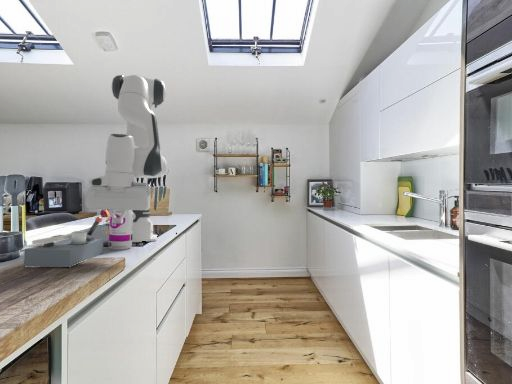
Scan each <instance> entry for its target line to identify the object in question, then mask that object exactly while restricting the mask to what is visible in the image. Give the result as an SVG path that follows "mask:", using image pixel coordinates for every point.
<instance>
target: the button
mask: <svg viewBox="0 0 512 384" xmlns="http://www.w3.org/2000/svg"><path fill="white" fill-rule="evenodd" d="M86 237H87V231H85V230H76V231H73V232H71V237H70V238H71V244H73V245H81V244H86Z"/></svg>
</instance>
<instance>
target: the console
mask: <svg viewBox="0 0 512 384" xmlns="http://www.w3.org/2000/svg"><path fill="white" fill-rule="evenodd" d="M71 238H72V237H65V238H64V239H60V240H55V241H49V242H45V243H43V244H42V243H41V244H38V245H33V246H30V247H28V248H24V254H23V256H24V259H23V267H24V266H40V267H70V266H72V265H74V264H77V263H79V262H81V261H84V260H86V259H89V260H91V259H94V258H95V257H98V256H100V255H103V252H104V238H95V237H92V236H89V237H88V236H86V244H81V245H73V244H71ZM90 258H91V259H90ZM84 262H85V261H84Z"/></svg>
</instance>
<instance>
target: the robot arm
mask: <svg viewBox="0 0 512 384" xmlns="http://www.w3.org/2000/svg"><path fill="white" fill-rule="evenodd" d="M110 87H111V92H112V95H113V97H114V98H115V99H116V100H118V101H117V110H118V114H119V115H120V117H122V119H124V120H125V121H126V134H125V133H112V134H109V135H108V138H107V142H106V149H105V150H106V151H105V165H106V166H105V170H104V175H102V176H98V177H94V178H91V179H89V180H88V185H89V187H87V189H86V192H85V197H84V206H85V207H86V208H87V209H89V210H90V209H92V210H94V209H95V210H108V214H109V216H110V215H111V217H112V223H123V218H124V216H125V215H126V213H127V210H132V212H133V232H132V243H143V242H142V241H146V242H155V241H157V240H156V239H157V238H158V237H157V236H158V234H154V233H155V230H154V224H153V222H152V220H151V218H150V217H151V209H150V208H151V197H150V196H151V193H152V188H151V187H152V186H150V184H148V183H146V182H138V181H137V179H140V178H141V179H156V178H162V177H164V175H166V174H167V172H168V162H167V160H166V158H165V157H164V156H163V155H162V152H161V144H160V143H161V142H160V135H159V126H158V120H157V116H156V115H155V113H154V111H153V110H154V109H157V108H158V106H160V105H162V103H164V101H165V99H166V96H167V89H166V86H165V83H164V81H163V80H161V79H158V78H152V77H148V76H147V77H146V76H140V75H138V74H131V75H124V74H120V75H115V76H114V77H113V79H112V82H111V86H110ZM153 105H154V109H153ZM116 209H117V210H121V212H120V213H122V214H121V216H120V218H116V216H115V214H114V213H115V212H116Z"/></svg>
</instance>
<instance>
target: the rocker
mask: <svg viewBox="0 0 512 384" xmlns="http://www.w3.org/2000/svg"><path fill="white" fill-rule="evenodd" d="M65 238H66V235H65V234H63V235H62V234H58V235H53V236H51V237H45V238H39V239H35V240H32V241H31V243H32V245H37V244H38V245H39V244H42V243H43V244H44V243H50V242H54V241H57V240H61V239H65Z"/></svg>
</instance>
